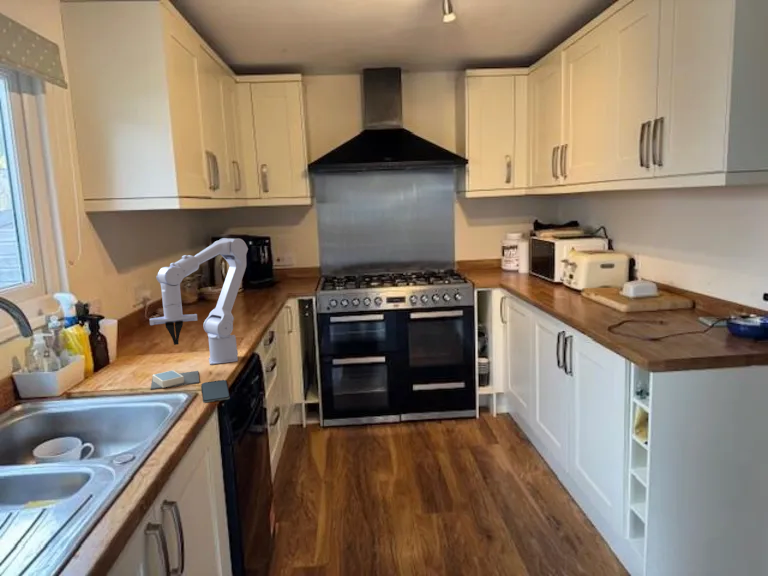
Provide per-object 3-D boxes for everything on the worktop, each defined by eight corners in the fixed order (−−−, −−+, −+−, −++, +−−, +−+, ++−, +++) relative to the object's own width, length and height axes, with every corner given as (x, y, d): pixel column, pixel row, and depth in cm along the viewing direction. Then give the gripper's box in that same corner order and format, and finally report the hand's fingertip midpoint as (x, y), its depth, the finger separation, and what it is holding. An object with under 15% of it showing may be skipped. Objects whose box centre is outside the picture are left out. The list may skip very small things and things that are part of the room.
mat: (198, 371, 179) (198, 370, 179) (199, 382, 167) (199, 381, 167) (152, 377, 174) (152, 376, 174) (150, 389, 163) (150, 388, 163)
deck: (172, 369, 174) (152, 374, 169) (183, 376, 167) (162, 381, 163) (173, 376, 174) (152, 380, 170) (184, 382, 167) (162, 387, 163)
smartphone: (202, 400, 150) (200, 382, 164) (202, 406, 151) (201, 387, 164) (230, 396, 153) (226, 379, 167) (230, 402, 153) (226, 384, 167)
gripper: (195, 299, 181) (199, 338, 183) (148, 303, 176) (153, 343, 178) (195, 303, 174) (199, 343, 176) (147, 307, 169) (152, 348, 171)
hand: (176, 343), depth 177 cm, fingers closed
